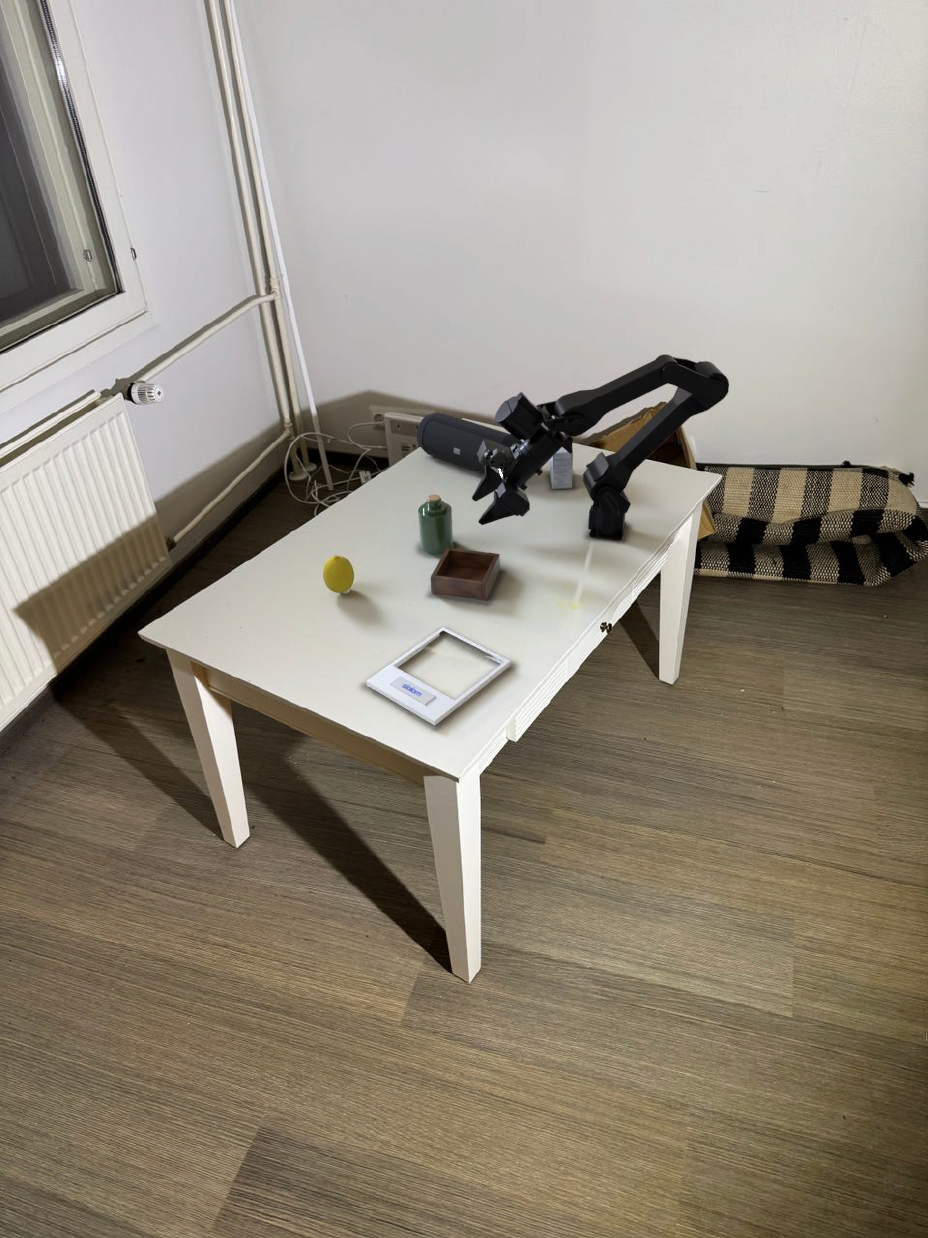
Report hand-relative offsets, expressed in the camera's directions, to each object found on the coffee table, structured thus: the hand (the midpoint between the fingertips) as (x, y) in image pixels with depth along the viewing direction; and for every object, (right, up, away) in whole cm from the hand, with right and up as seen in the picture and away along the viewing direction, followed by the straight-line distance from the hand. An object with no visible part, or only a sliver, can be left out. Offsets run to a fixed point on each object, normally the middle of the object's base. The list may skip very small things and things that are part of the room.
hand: (476, 511), depth 167 cm
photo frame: (-6, -30, -28) cm, 41 cm away
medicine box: (+19, +9, +24) cm, 32 cm away
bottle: (-8, -7, +4) cm, 11 cm away
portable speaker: (-1, +14, +31) cm, 34 cm away
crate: (-2, -14, -7) cm, 16 cm away
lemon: (-25, -16, -8) cm, 31 cm away
